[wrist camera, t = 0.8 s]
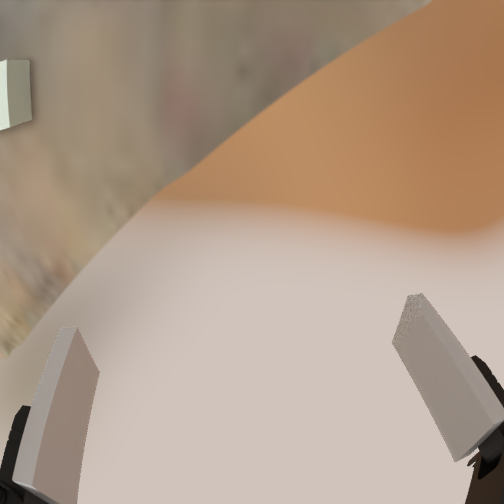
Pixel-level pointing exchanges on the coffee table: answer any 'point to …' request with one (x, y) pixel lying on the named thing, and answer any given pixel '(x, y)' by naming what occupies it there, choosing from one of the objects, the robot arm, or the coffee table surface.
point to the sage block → (14, 93)
